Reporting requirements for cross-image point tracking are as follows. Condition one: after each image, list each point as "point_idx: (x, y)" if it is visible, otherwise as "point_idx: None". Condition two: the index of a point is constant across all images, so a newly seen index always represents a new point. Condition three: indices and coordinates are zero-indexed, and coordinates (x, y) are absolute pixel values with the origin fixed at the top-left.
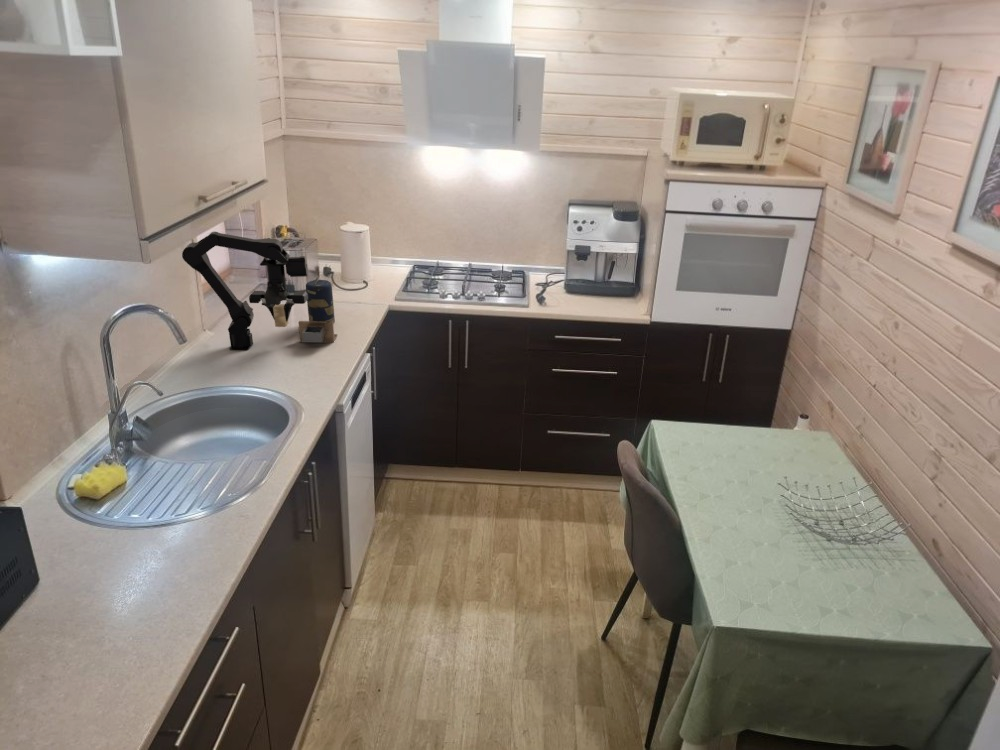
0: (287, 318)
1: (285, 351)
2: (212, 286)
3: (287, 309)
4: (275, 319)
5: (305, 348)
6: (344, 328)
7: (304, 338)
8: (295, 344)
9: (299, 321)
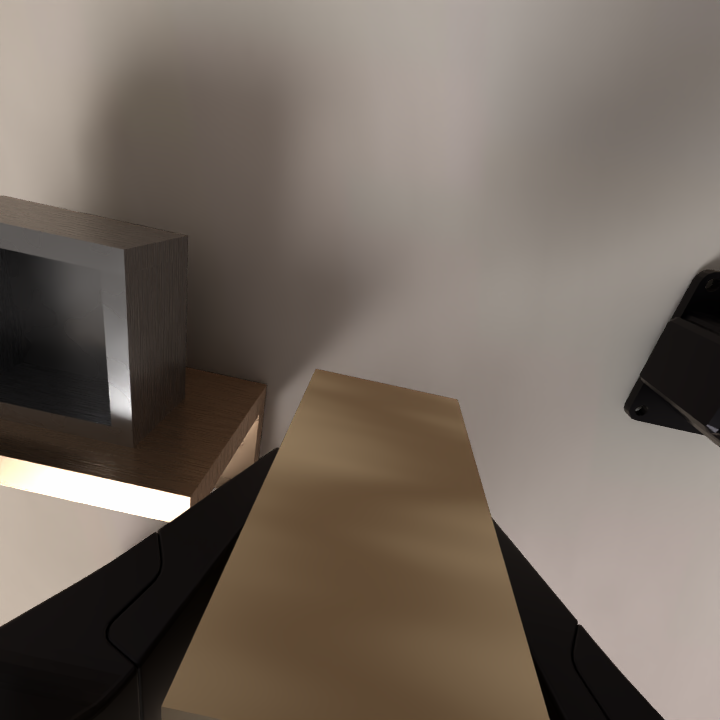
0: (252, 467)
1: (363, 189)
2: None
3: (98, 618)
4: (459, 464)
5: (203, 237)
6: (43, 542)
7: (144, 234)
8: (296, 340)
9: (181, 508)
